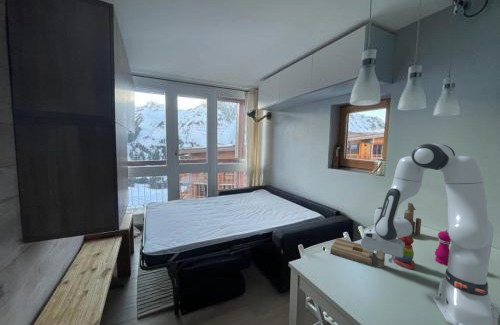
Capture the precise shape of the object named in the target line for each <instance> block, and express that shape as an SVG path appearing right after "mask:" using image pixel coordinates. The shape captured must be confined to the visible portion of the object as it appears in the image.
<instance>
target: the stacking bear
mask: <svg viewBox="0 0 500 325" xmlns="http://www.w3.org/2000/svg"><path fill="white" fill-rule="evenodd" d="M397 239H400V240H402V241H403V242H404V243H405V247H404V248H403V257H402V258H401V257H397V256H395V258H394V259H393V260H392V262H393V263H395V264H396V265H398V266H400V267H402V268H405V269H408V270H415V266H414V265H415V261H414V260H413V259H414V256H415V253H414V249H413V243H414V242H415V240H414V239H413V238H412V236H410V235H409V236H406V237H401V238H397Z"/></svg>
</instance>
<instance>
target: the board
mask: <svg viewBox="0 0 500 325" xmlns="http://www.w3.org/2000/svg"><path fill="white" fill-rule="evenodd" d="M329 252H330V253H329V254H330V255H334V254H335V256H337V255H338V257H340V256H342V257H341V258H345V259H347V260H350V261H354V262H357V263H360V264H363V265H367V266H370V267H371V266H372V262H373V257H374V252H375V251H374V250H371V249H370V252H371V253H372V257H370V256H369V253H368V251H367V248H363V247H361V243H358V242H354V241H350V240H347V239H343V238H338V237H337V238H336V239H335V240H334V242H333V243H332V244H331V247H330V250H329Z"/></svg>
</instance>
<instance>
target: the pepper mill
mask: <svg viewBox="0 0 500 325" xmlns="http://www.w3.org/2000/svg"><path fill="white" fill-rule="evenodd" d="M437 237H438V242H439V244H438V247H437V248H436V249H435V251H434V255H435V259H434V260H435V261H436V262H437V263H438V264H441V265H443V266H448V260H449V251H450V245H451V241H452V240H451V239H450V237H449V233H448V229H445V228H444V229H443V230H442V231H439V232H438V233H437Z"/></svg>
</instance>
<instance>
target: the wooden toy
mask: <svg viewBox="0 0 500 325" xmlns="http://www.w3.org/2000/svg"><path fill="white" fill-rule="evenodd" d="M415 211H416V208H415V206H414V204H413V203H412V202H408V203H407V209H405V211H404V215H403V218H405V219H407V220H408V221H409V222H410V223H411V225H412V227H413V232H412V234H411V235H410V236H411V237H412V235H416V236H421V227H422V218H419V217H416V218H415V221H414V215H415V214H414V212H415Z"/></svg>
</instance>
